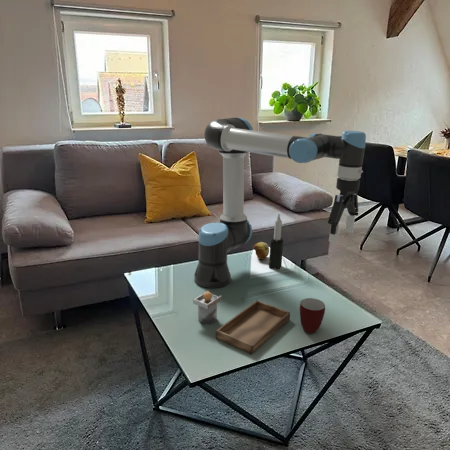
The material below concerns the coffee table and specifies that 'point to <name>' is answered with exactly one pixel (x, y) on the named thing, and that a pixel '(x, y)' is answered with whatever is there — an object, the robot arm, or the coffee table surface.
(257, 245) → the fruit
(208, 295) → the ball
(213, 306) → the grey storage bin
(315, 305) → the mug
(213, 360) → the coffee table surface
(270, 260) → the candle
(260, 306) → the tray
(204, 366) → the coffee table surface
